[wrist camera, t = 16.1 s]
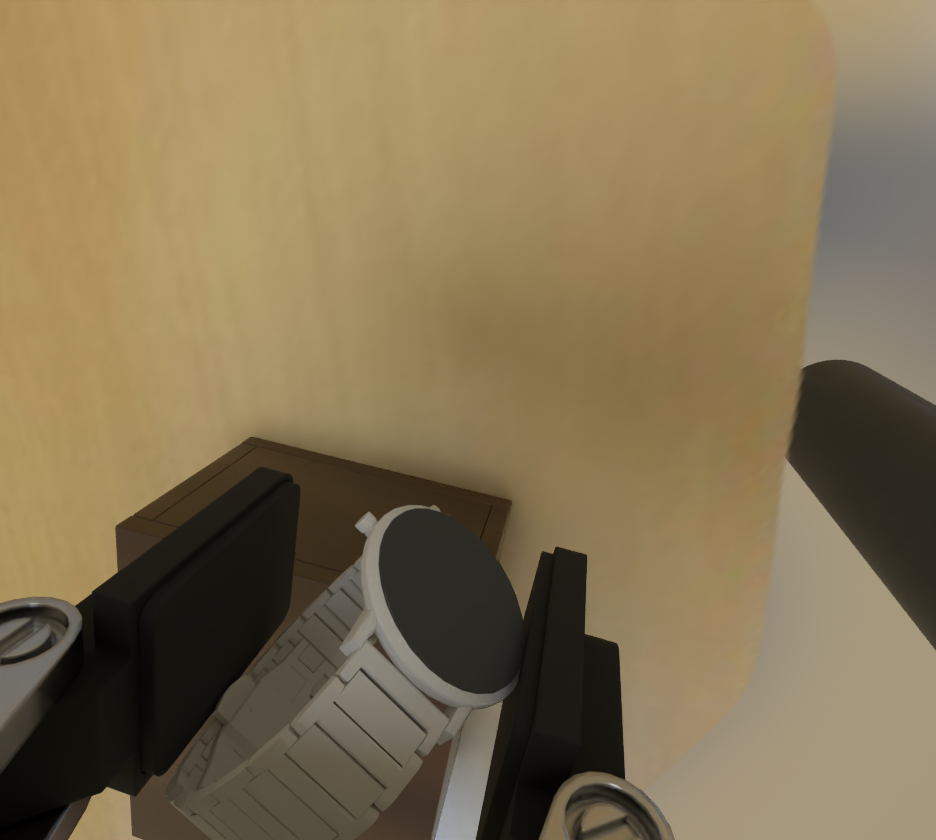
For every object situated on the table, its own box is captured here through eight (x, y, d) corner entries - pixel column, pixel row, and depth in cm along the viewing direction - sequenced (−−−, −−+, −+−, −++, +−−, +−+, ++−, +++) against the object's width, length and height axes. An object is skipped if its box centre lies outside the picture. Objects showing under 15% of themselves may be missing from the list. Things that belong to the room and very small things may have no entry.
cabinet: (456, 753, 32) (410, 933, 24) (240, 687, 34) (131, 836, 26) (512, 500, 26) (477, 625, 18) (250, 436, 28) (114, 525, 20)
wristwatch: (549, 552, 10) (512, 835, 6) (361, 683, 12) (216, 980, 7) (433, 430, 10) (290, 624, 5) (258, 584, 12) (39, 829, 7)
